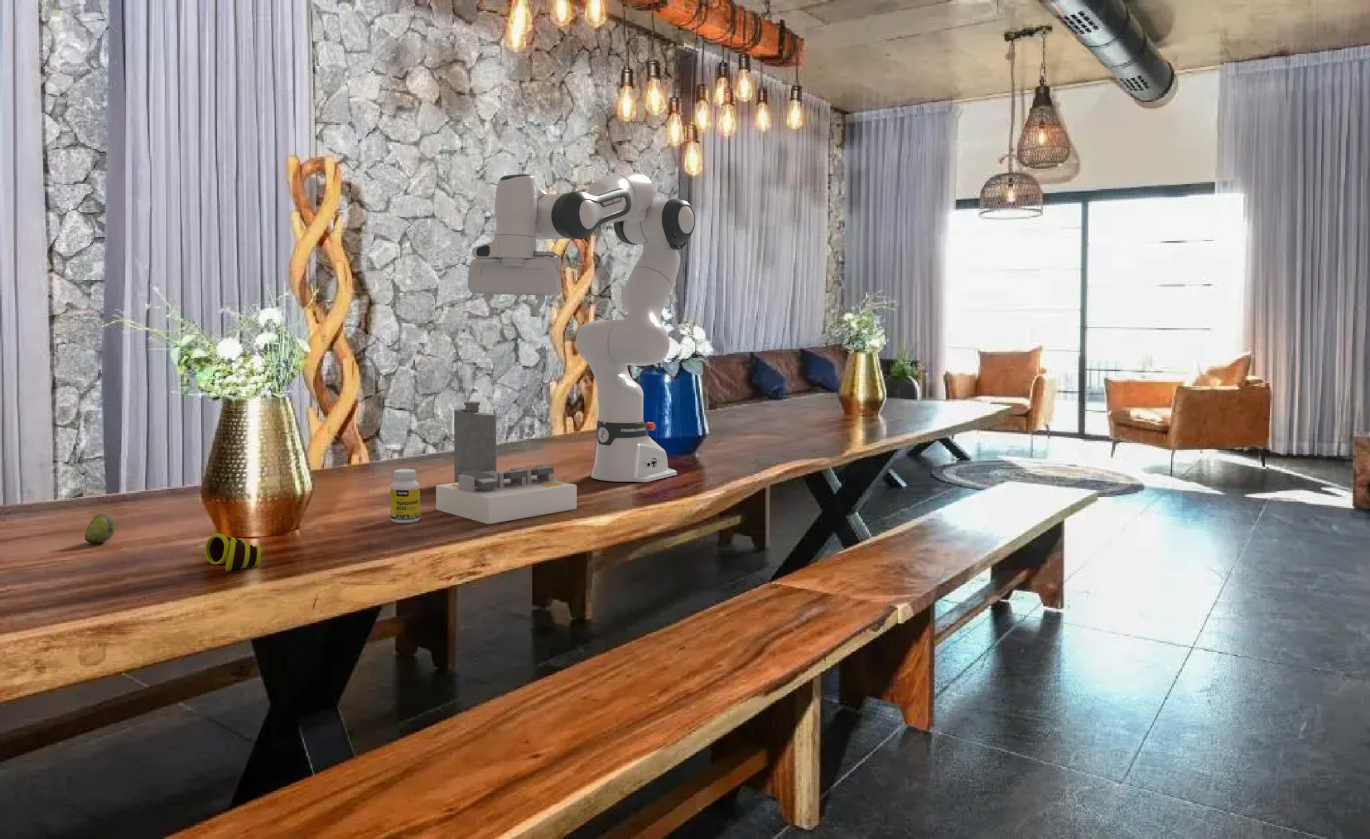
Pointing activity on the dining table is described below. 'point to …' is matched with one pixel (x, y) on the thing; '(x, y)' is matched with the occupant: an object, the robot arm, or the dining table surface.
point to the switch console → (506, 497)
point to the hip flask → (474, 440)
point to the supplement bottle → (405, 497)
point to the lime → (100, 529)
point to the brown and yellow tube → (232, 552)
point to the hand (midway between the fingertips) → (514, 316)
